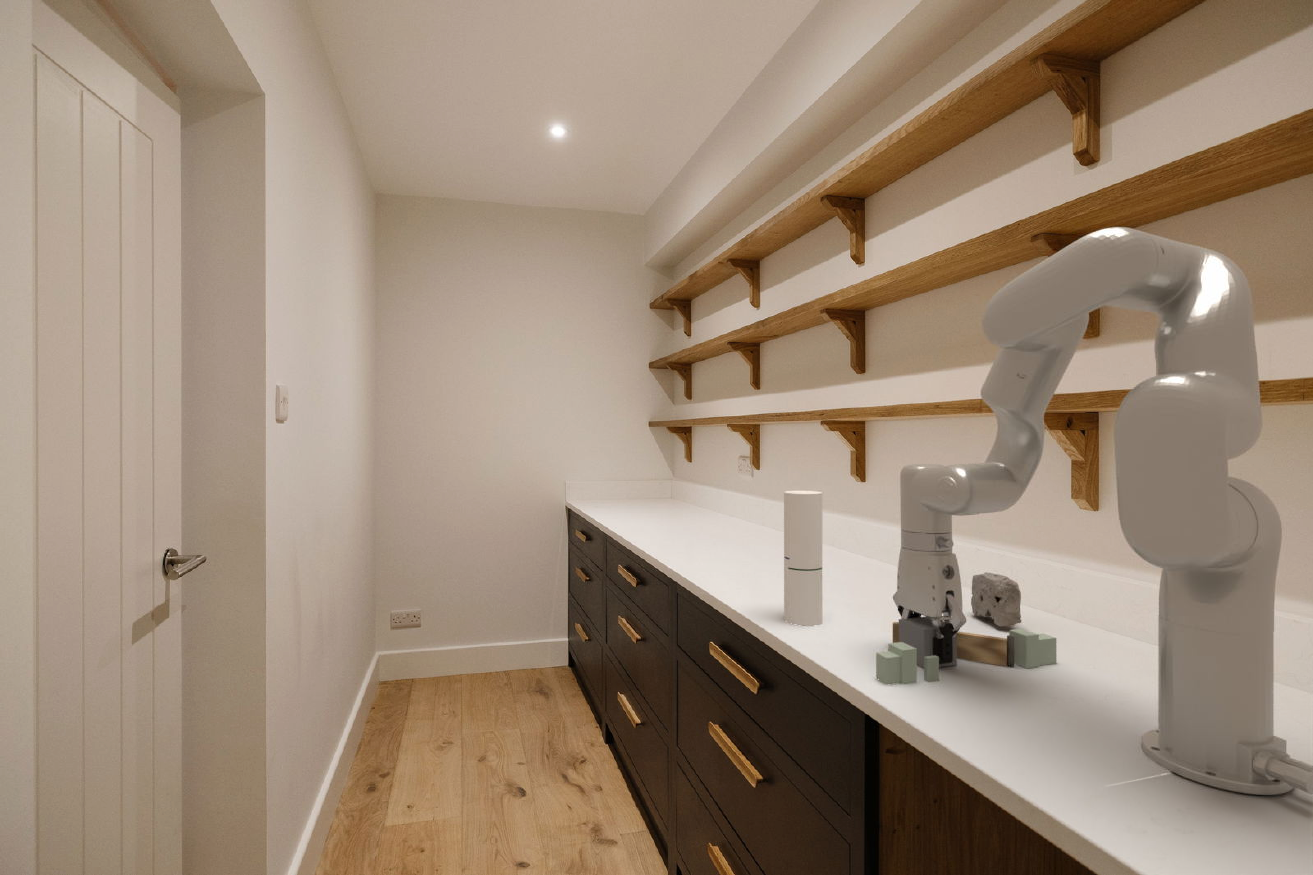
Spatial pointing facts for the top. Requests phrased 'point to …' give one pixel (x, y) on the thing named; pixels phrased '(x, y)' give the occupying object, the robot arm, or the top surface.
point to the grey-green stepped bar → (903, 658)
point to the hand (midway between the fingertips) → (927, 654)
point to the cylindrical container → (803, 557)
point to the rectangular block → (922, 638)
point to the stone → (996, 598)
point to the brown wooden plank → (979, 647)
